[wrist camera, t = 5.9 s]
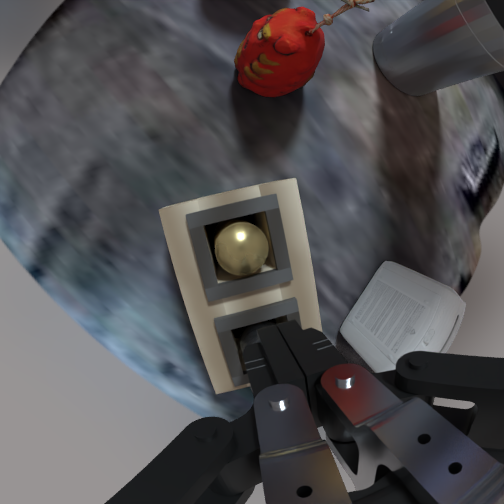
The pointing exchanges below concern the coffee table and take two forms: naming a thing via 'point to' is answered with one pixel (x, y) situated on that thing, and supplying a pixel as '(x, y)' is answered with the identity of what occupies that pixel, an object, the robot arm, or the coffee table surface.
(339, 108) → the coffee table surface
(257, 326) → the peg steel
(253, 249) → the peg brass
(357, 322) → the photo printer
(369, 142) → the coffee table surface
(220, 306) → the birch block
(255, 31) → the red clay folk toy
